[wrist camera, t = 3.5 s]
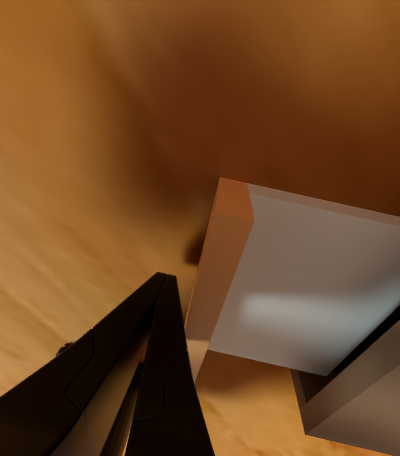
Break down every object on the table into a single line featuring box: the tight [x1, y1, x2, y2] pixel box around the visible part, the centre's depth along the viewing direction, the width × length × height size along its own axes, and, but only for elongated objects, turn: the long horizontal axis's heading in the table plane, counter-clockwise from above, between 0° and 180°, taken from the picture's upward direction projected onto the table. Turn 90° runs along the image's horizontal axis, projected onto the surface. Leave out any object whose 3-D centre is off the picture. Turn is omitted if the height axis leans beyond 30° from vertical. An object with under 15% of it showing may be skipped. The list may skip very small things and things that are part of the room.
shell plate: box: [184, 177, 400, 383], centre depth 9 cm, size 9×8×3 cm
